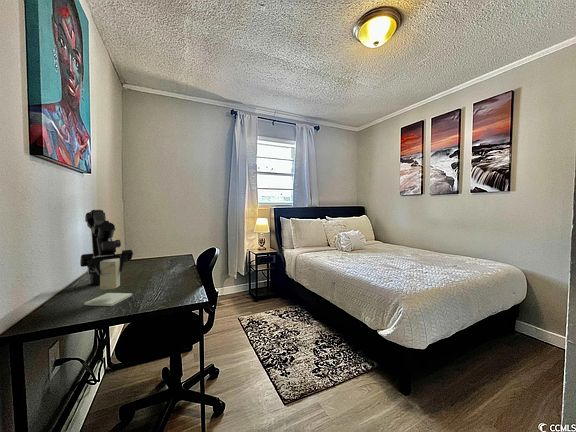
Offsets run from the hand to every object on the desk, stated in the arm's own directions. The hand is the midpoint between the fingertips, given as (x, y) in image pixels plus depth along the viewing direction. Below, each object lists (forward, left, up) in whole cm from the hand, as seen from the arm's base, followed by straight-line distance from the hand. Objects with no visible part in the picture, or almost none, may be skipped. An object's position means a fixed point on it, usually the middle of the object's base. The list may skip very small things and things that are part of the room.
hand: (110, 273), depth 104 cm
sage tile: (-1, 0, -12) cm, 12 cm away
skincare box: (-1, +1, -7) cm, 7 cm away
